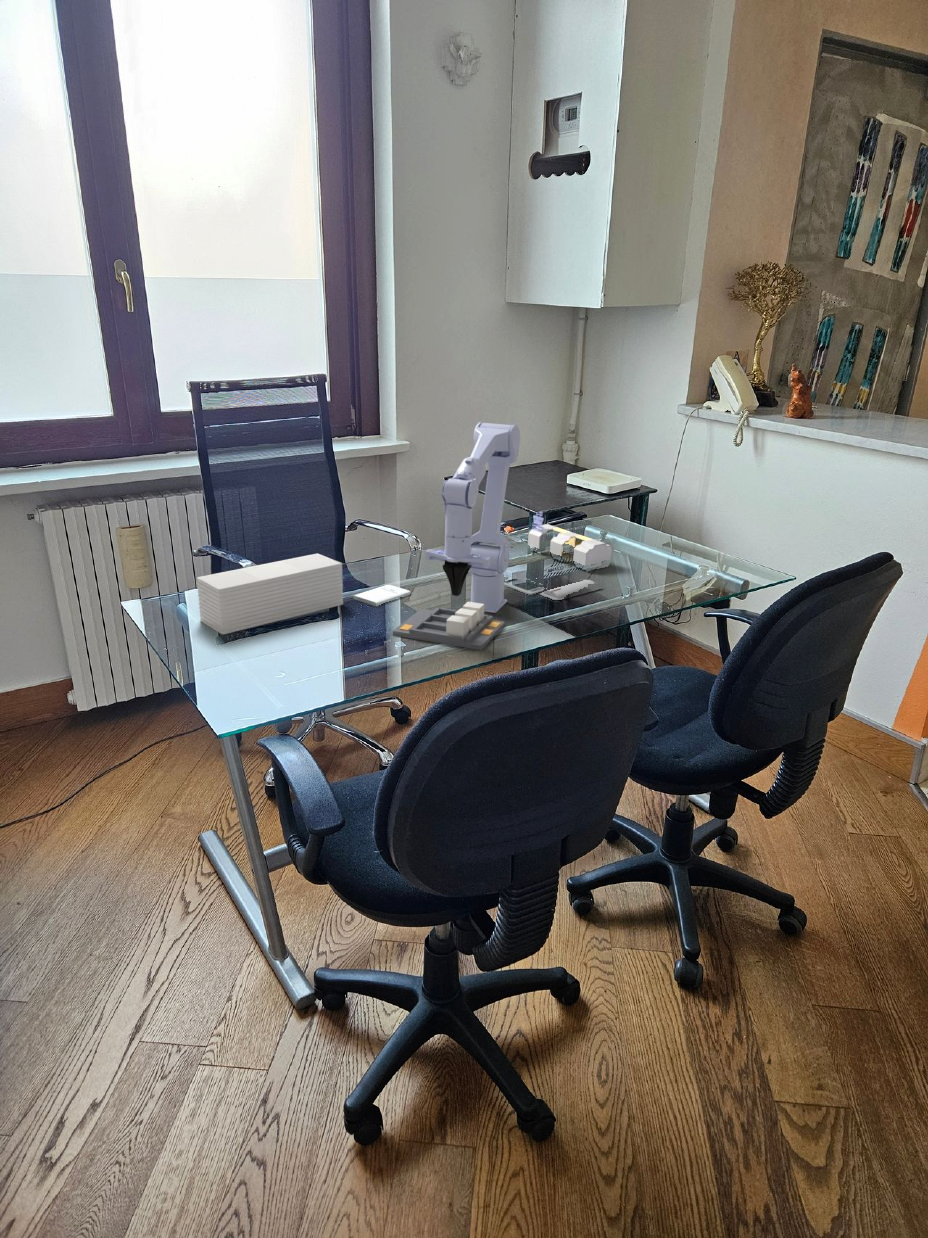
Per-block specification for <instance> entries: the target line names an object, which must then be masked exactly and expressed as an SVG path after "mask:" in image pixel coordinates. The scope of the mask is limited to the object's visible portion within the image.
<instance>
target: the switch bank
mask: <svg viewBox="0 0 928 1238" xmlns="http://www.w3.org/2000/svg"><path fill="white" fill-rule="evenodd" d="M458 610H459V609H458ZM458 610H456V609H452V608H451V609H450V608H446V607H445V608H444V607H435V608H434V609H433V610H432V609H427V608H421V609H419V610H418V611H416V612H415V613H414V614H412V615H411V616H410V617H409V618H407V619H406V620H405V621H403V622H402V623H401V624H399V626H397V627H396V628H395V629H393V630H392V636H397V637H403V638H406V639H407V638H409V639H412V640H413V639H414V640H420V641H426V642H432V643H436V644H442V645H448V646H455V647H459V648H460V647H461V648H467V649H470V650H476V651H482V650H483V649H484V648H485V647H486V646H487V645H488V644H489V643H490V641H491V640H492V639H493V638H494V637H496V636H497V634H498V633H500V631H501V630H503V628H504V627H505V625H506V622H505V621H502V620H497V619H493V615H488V614H484V620H483V621H482V622H477V627H476V628H475V629H474V630H472V629H469V634H468V635H467V636H466V637H460V636H454V635H448V634H446V620H447V619H448V618H449V617H451V616H452V615H454V616H455V613H456V612H457V611H458Z"/></svg>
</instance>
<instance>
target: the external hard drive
mask: <svg viewBox="0 0 928 1238" xmlns="http://www.w3.org/2000/svg"><path fill="white" fill-rule="evenodd" d="M411 593H412V592H411V591H410V590H408V589H405V588H402V587H399V586H395V585H392V584H386V585H382V586H380V587H376V588H373V589H370V590H367V591H363V592H360V593H357V594H354V595H353V596H352V599H353V600H355V601H358V602H361V603H363V604H364V603H365V604H368V605H370V606H373V607H380V606H382V605H381V604H383V603H385V602H388V603H390V602H389V601H391V600H394V599H396V598H399V599H401V598H400V597H402V598H404V597H407V596H410V594H411ZM394 601H395V600H394ZM391 602H392V601H391ZM385 604H386V603H385ZM379 605H380V606H379ZM383 605H384V604H383Z"/></svg>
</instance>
